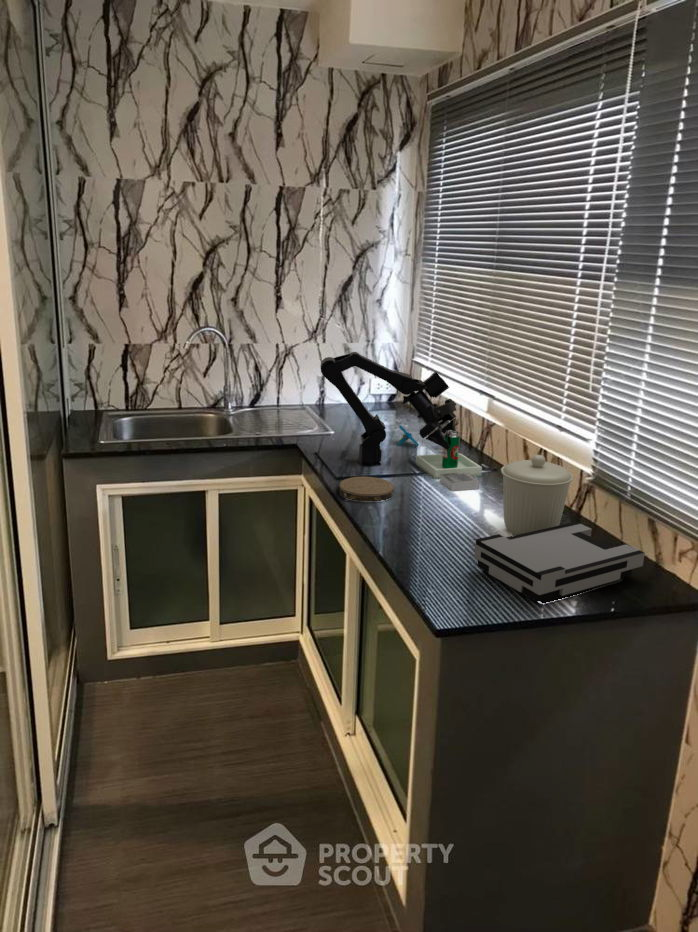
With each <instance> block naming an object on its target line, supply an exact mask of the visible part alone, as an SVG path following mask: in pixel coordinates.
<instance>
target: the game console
mask: <svg viewBox="0 0 698 932" xmlns="http://www.w3.org/2000/svg"><path fill="white" fill-rule="evenodd" d="M592 530H593V529H592V528H591V527H588V526H586V525H585V524H582V523H579V522H578V521H573V522H572V521H571V522H568V523H565V524H559V526H554V527H550V528H545V529H541V530H537V531H532V532H528V533H523V534H519V535H510V536H506V537H505V535H504V536H503V535H501V534H499V533H498V534H494V535H489V536H485V537H479V538H476V539H475V548H474V557H473V558H474V559H476V560H477V567H478V568H480V569H481V570H483V572H485V573H486V574H488V575H490V576H492V577H493V578H495V579H496V580H498V581H499V582H502V583H504V584H505V585H507V586H509V587H511V588H512V589H514V590H515V591H518V592H519V593H521V594H522V595H524V594H525V595H527V596H529V597H530V598H532V599H534V600H535V601H541V602H542V603H546V602H550V601H554V600H558V599H562V598H565V597H570V596H573V595H577V594H580V593H583V592H586V591H589V590H592V589H594V588H597V587H600V586H603V585H606V584H609V583H611V582H613V581H617V580H620V579H623V580H624V579H625V578H624V577H627V576H629V575H630V576H631V575H632V573H633V572H632V571H633V570H634V569H636V568H640V567H641V568H642V567H643V566H644V560H645V555H646V552H644V551H642V550H640V549H638V548H636V547H633V546H631V545H629V544H621V545H619V546H611V545H609V544H607V543H606V542H604V541H601V540H598V539H596V538H594V537H592ZM525 595H524V596H525ZM527 596H526V597H527ZM529 597H528V598H529ZM530 598H529V599H530ZM532 599H531V600H532ZM534 600H533V601H534ZM535 601H534V602H535Z"/></svg>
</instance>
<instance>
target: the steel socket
mask: <svg viewBox="0 0 698 932" xmlns="http://www.w3.org/2000/svg"><path fill="white" fill-rule="evenodd" d="M439 483H441V484H442V485H443V486H444V487H446V488H447V489H449V491H451V492H457V491H458V492H460V491H472V490H473V491H474V490H475V491H476V490H480V480H479V479H477V477H476V478H475V477H473V476H471V475H470V474H468V473H467V472H464V473H449V474H440V479H439Z"/></svg>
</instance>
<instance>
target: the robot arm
mask: <svg viewBox="0 0 698 932" xmlns="http://www.w3.org/2000/svg"><path fill="white" fill-rule="evenodd" d="M319 367H320V372H321V375H322V376H323V377H324V378H325V379H326V380H327V381H328V382H329V383H330V384H331V385H333V386H334V387H335V388H336V389H337V390H338V392H339V393H340V394H341V395H342V397H343V398H344V400H345V401H346V402H347V404H348V405H349V406H350V408H351V409H352V411H353V412H354V414H355V416H357V417H358V419H359V420H360V422H361V424H362V426H363V428H364V432H363V433H362V434H361V435H360V439H361V443H359V449H358V451H359V452H358V458H357V459H356V461H357V462H358V464H360V465H361V466H362V467H372V465H374V466H382V449H381V443H383V442H384V441H385V439H386V438H387V432H386V429H387V428H386V425H385V423H384V422H383V421H382V420H381V419H380V417H379V415H378V414H375V415H373V414H371V413H370V412H369V410H368V409H367V407H366V406H365V405H364V403H363V401H361V399H360V398H359V396H358V394H357V393H356V392H355V391H354V389H353V388H352V387H351V385H350V383H348V381H347V380H346V377H345V375H344V374H343V372H345V371H347V370H349V369H351V368H354V367H356V368H358V369H360V370H362V371H363V372H364V371H365V372H367V373H368V374H371V375H373V376H375V377H376V378H379V379H381V380H383V381H386V383H388V384H389V385H390V386H392V387H393V388H394V389H396V390H397V391H398V392H400V393H401V394H402V395H403V397H402V398H403V399H402V400H403V401H402V405H404V406H405V405H408V403H409V404H410V405H411V406H412V408H413V409H414V411H415V412H417V414H418V415H417V418H418V420H419V419H421V420H422V421H423V422H424V423H425V425H424V426H423V427H421V429H419V434H418V435H420V437H421V439H425V440H427V441H430V442H432V443H434V444H436V445H438V446H441V447H442V448H443V447H444V448H445V449H449V448H450V446H449V444H448V442H447V441H446V439H445V438H444V434H445V433H446V431H457V428H456V426H455V423H456V420H457V418H456V417H457V415H456V414H455V412H456V411H457V407H456V406H457V403H456V402H455V400H453V399H452V398H448V399H446V400H444V403H443V404H441V405H438V403H433V402H432V400H431V399H430V398H433V399H436V398H438V397H439V396H440V395H442V394H443V393H444V392H445V391H447V390H448V389H450V386H449V385H448V384H447V383H446V381H445V380H444V378H442V377H441V376H440V374H439V373H438V372H437V371H434V372H432V374H431V375H430V376H429V377H427V378H426V379H424V380H421V379H417V378H413V376H412V375H411V374H408V373H407V372H406V373H405V372H402V371H398V370H395V369H394V370H393V369H390V368H388V367H386V366H384V365H381V364H380V363H378V362H376V361H374V360H371V359H370V358H368V357H366V356H364V355H361V354H360V353H359V352H357V351H351V353H347V354H342V355H339V356H335V357H332V356H328V357H325V358H323V359H322V360H321V362H320V365H319ZM424 391H425V392H424ZM426 393H427V394H426ZM427 395H428V396H429V397H430V398H429V397H428V396H427Z"/></svg>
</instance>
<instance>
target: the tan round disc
mask: <svg viewBox="0 0 698 932" xmlns="http://www.w3.org/2000/svg"><path fill="white" fill-rule="evenodd" d="M338 490H339V493H340V494H341V495H342V496H343V497H346V498H348V499H352V500H358V501H381V500H386V499H389V498H391V497H392V496H393V497H394V490H395V487H394V484H393V483H392V482H391V481H389V480H387V479H383V478H380V477H372V476H352V477H349V478H344V479H343V480H341V481H340V482H339V489H338ZM340 494H339V495H340ZM393 497H392V498H393ZM392 498H391V499H392Z"/></svg>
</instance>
